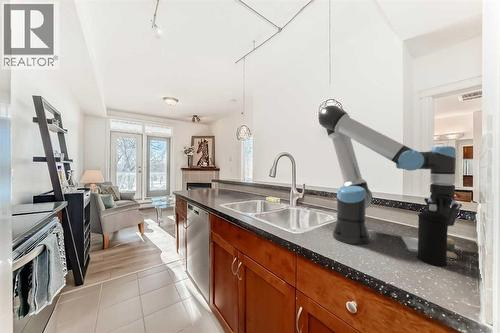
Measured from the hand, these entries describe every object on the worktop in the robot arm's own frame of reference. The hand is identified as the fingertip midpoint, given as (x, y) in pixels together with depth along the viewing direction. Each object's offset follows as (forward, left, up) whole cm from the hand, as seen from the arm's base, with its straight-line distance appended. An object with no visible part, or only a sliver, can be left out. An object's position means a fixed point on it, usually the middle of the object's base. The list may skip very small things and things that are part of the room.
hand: (440, 240), depth 86 cm
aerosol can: (-7, -18, -3) cm, 19 cm away
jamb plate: (-9, -4, -2) cm, 10 cm away
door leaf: (-2, -4, -2) cm, 5 cm away
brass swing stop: (-2, -3, -1) cm, 4 cm away
